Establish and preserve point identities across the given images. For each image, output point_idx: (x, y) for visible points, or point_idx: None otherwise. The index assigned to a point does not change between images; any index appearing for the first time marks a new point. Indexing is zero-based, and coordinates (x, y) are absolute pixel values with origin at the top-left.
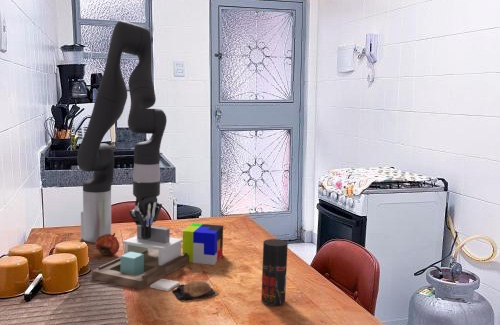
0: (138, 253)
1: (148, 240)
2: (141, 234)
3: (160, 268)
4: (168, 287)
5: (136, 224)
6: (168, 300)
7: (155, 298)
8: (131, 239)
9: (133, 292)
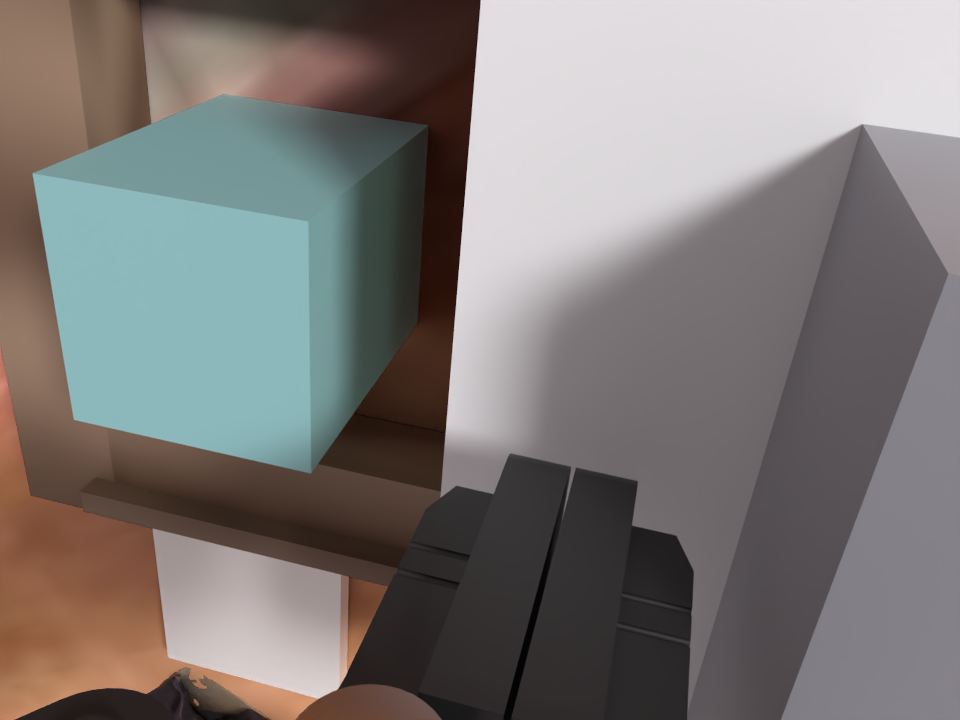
0: (288, 390)
1: (759, 459)
2: (415, 537)
3: (384, 577)
4: (192, 654)
5: (55, 716)
6: (58, 675)
7: (29, 595)
8: (729, 12)
9: (6, 413)
